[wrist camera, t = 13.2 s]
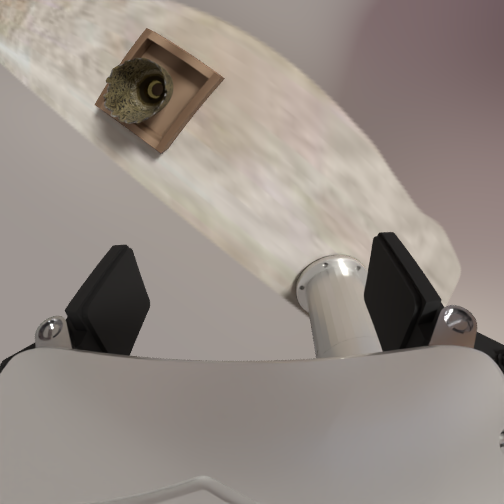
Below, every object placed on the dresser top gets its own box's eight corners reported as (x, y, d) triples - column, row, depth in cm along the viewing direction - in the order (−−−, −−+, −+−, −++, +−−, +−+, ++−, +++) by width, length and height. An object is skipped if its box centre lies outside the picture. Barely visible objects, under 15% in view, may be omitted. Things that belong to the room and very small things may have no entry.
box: (224, 78, 30) (221, 77, 28) (168, 148, 35) (160, 153, 33) (155, 32, 26) (146, 28, 24) (105, 102, 31) (94, 104, 29)
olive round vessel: (141, 59, 28) (112, 53, 21) (192, 68, 29) (174, 62, 22) (126, 110, 32) (96, 117, 25) (176, 122, 33) (154, 130, 26)
